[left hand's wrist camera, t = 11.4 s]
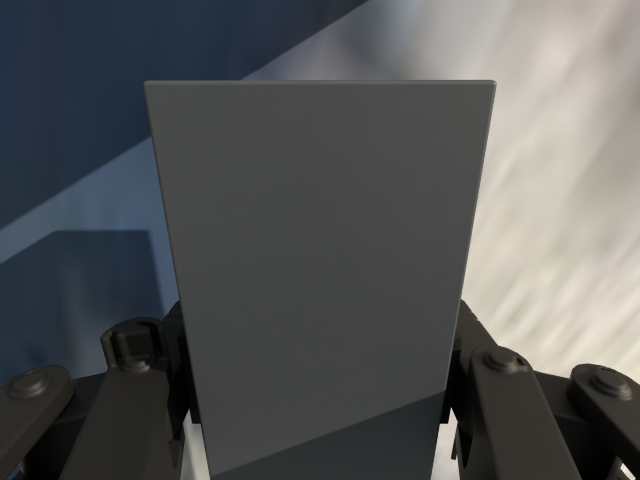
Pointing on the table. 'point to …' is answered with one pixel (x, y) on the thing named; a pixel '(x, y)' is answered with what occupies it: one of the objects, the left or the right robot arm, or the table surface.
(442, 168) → the beam
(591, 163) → the table surface
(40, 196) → the table surface
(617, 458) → the left robot arm
